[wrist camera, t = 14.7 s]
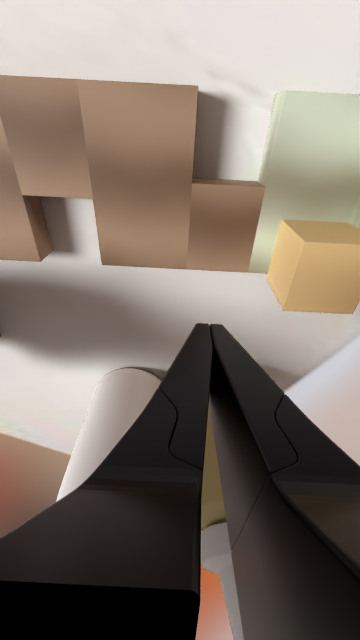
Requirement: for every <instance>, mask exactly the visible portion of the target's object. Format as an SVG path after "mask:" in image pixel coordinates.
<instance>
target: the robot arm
mask: <svg viewBox="0 0 360 640" xmlns="http://www.w3.org/2000/svg"><path fill="white" fill-rule="evenodd" d="M0 336H1V335H0ZM208 407H210V414H211V421H212V428H213V434H214V441H215V448H216V455H217V461H218V468H219V475H220V482H221V488H222V495H223V502H224V509H225V515H226V522H227V529H228V536H229V542H230V549H231V551H232V552H231V556H232V563H233V570H234V577H235V583H236V590H237V597H238V603H239V610H240V617H241V624H242V630H243V637H244V640H360V466H359V465H358V464H357V463H356V462H355V461H354V460H352V459H351V458H350V457H349V456H348V455H347V454H346V453H345V452H344V451H343V450H342V449H341V448H339V447H338V446H337V445H336V444H335V443H334V442H333V441H332V440H330V438H328V437H327V436H326V435H325V434H324V433H323V432H322V431H321V430H320V429H319V428H318V427H317V426H316V425H315V424H314V423H313V422H312V421H311V420H309V419H308V417H307V416H306V415H305V414H304V413H303V412H302V411H301V410H300V409H299V408H298V407H297V406H296V405H295V404H294V403H293V402H292V401H291V399H290V398H289V397H288V396H287V395H284V392H283V391H282V390H281V389H280V388H279V386H278V385H277V384H276V383H275V382H274V381H273V380H272V379H271V378H270V377H269V376H268V374H267V373H266V372H265V371H264V370H263V369H262V368H261V367H260V366H259V365H258V363H257V362H256V361H255V360H254V359H253V358H252V357H251V356H250V355H249V354H248V353H247V351H246V350H245V349H244V348H243V347H242V346H241V345H240V344H239V343H238V342H237V340H236V339H235V338H234V337H233V336H232V335H231V334H230V333H229V332H228V331H227V330H226V328H225V327H224V326H223V325H221V324H210V325H208V324H202V323H197V324H196V325H195V327H194V328H193V330H192V332H191V333H190V335H189V337H188V338H187V340H186V342H185V343H184V345H183V347H182V348H181V350H180V352H179V353H178V355H177V356H176V358H175V360H174V361H173V363H172V365H171V366H170V368H169V370H168V371H167V373H166V375H165V376H164V378H163V380H162V381H161V383H160V385H159V386H158V388H157V389H156V391H155V393H154V394H153V396H152V398H151V399H150V401H149V402H148V404H147V405H146V407H145V408H144V410H143V411H142V413H141V414H140V415H139V417H138V418H137V419H136V420H135V422H134V423H133V424H132V426H131V427H130V428H129V429H128V431H127V432H126V433H125V434H124V436H123V437H122V438H121V439H120V440H119V442H118V443H117V444H116V445H115V447H114V448H113V449H112V450H111V451H110V453H109V454H108V455H107V456H106V458H105V459H104V460H103V461H102V462H101V464H100V465H99V466H98V467H97V468H96V470H95V471H94V472H93V473H92V474H91V475H90V476H89V477H88V478H87V479H86V480H85V481H84V482H83V483H82V484H81V485H80V486H78V487H77V488H76V489H75V490H73V491H72V492H71V493H69V494H68V495H66V496H64V497H63V498H61V499H60V500H58V501H57V502H55V503H54V504H52V505H51V506H49V507H47V508H46V509H44V510H43V511H41V512H40V513H38V514H37V515H35V516H34V517H32V518H30V519H29V520H27V521H26V522H24V523H23V524H21V525H20V526H18V527H17V528H15V529H13V530H12V531H11V532H9V533H8V534H6V535H5V536H3V537H1V538H0V640H195V637H196V630H197V629H196V628H197V622H198V614H199V607H200V575H201V572H200V571H201V568H200V567H201V501H202V483H203V470H204V457H205V444H206V432H207V419H208Z"/></svg>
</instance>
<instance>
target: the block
mask: <svg viewBox="0 0 360 640" xmlns="http://www.w3.org/2000/svg"><path fill="white" fill-rule="evenodd" d="M266 279H267V281H268V283H269V285H270V287H271V289H272V290H273V292H274V294H275V296H276V298H277V300H278V302H279V304H280V306H281V308H282V310H283V311H301V312H320V313H339V314H353V312H354V311H355V309H356V307H357V305H358V303H359V301H360V230H359V229H357V228H356V227H354V226H352V225H350V224H349V223H343V222H324V221H305V220H287V219H282V220H281V224H280V228H279V232H278V236H277V240H276V243H275V247H274V251H273V255H272V259H271V263H270V267H269V271H268V275H267V278H266Z"/></svg>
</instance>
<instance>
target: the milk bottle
mask: <svg viewBox="0 0 360 640" xmlns="http://www.w3.org/2000/svg"><path fill="white" fill-rule="evenodd" d="M160 383H161V381H160V379H159V378H157V377H156V376H154V375H153V374H151V373H149V372H146V371H143V370H139V369H131V368H125V369H118V370H114V371H112V372H110V373H108V374H107V375H105V376H104V377H103V378H102V379H101V380H100V381H99V382H98V384H97V387H96V389H95V392H94V394H93V397H92V400H91V402H90V405H89V408H88V411H87V413H86V416H85V419H84V422H83V424H82V427H81V430H80V433H79V436H78V438H77V441H76V444H75V447H74V450H73V453H72V455H71V458H70V461H69V464H68V467H67V470H66V473H65V476H64V478H63V481H62V485H61V488H60V491H59V494H58V497H57V500H56V502H57V501H58V500H60V499H61V498H63V497H64V496H66V495H68V494H69V493H71V492H72V491H73V490H75V489H76V488H77V487H78V486H80V485H81V484H82V483H83V482H84V481H85V480H86V479H87V478H88V477H89V476H90V475H91V474H92V473H93V472H94V471H95V470H96V468H97V467H98V466H99V465H100V464H101V462H102V461H103V460H104V459H105V458H106V456H107V455H108V454H109V453H110V451H111V450H112V449H113V448H114V447H115V445H116V444H117V443H118V442H119V440H120V439H121V438H122V437H123V436H124V434H125V433H126V432H127V431H128V429H129V428H130V427H131V426H132V424H133V423H134V422H135V420H136V419H137V418H138V417H139V415H140V414H141V413H142V411H143V410H144V408H145V407H146V405H147V404H148V402H149V401H150V399H151V398H152V396H153V394H154V393H155V391H156V389H157V388H158V386H159V385H160Z"/></svg>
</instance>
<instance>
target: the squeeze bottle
mask: <svg viewBox="0 0 360 640" xmlns="http://www.w3.org/2000/svg"><path fill="white" fill-rule="evenodd" d="M201 530H202V533H201V564H202V566H203V567H204V568H205V569H206V570H208V571H210V572H212V573H218V574H219V576H220V581H221V585H222V589H223V594H224V599H225V603H226V608H227V612H228V617H229V621H230V626H231V630H232V634H233V639H234V640H244V637H243V630H242V624H241V617H240V610H239V603H238V597H237V590H236V583H235V577H234V570H233V563H232V556H231V552H232V551H231V549H230V542H229V536H228V529H227V522H226V515H225V509H224V502H223V495H222V488H221V482H220V475H219V468H218V461H217V455H216V448H215V441H214V434H213V428H212V421H211V414H210V407H208V419H207V432H206V444H205V457H204V470H203V483H202V501H201Z"/></svg>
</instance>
